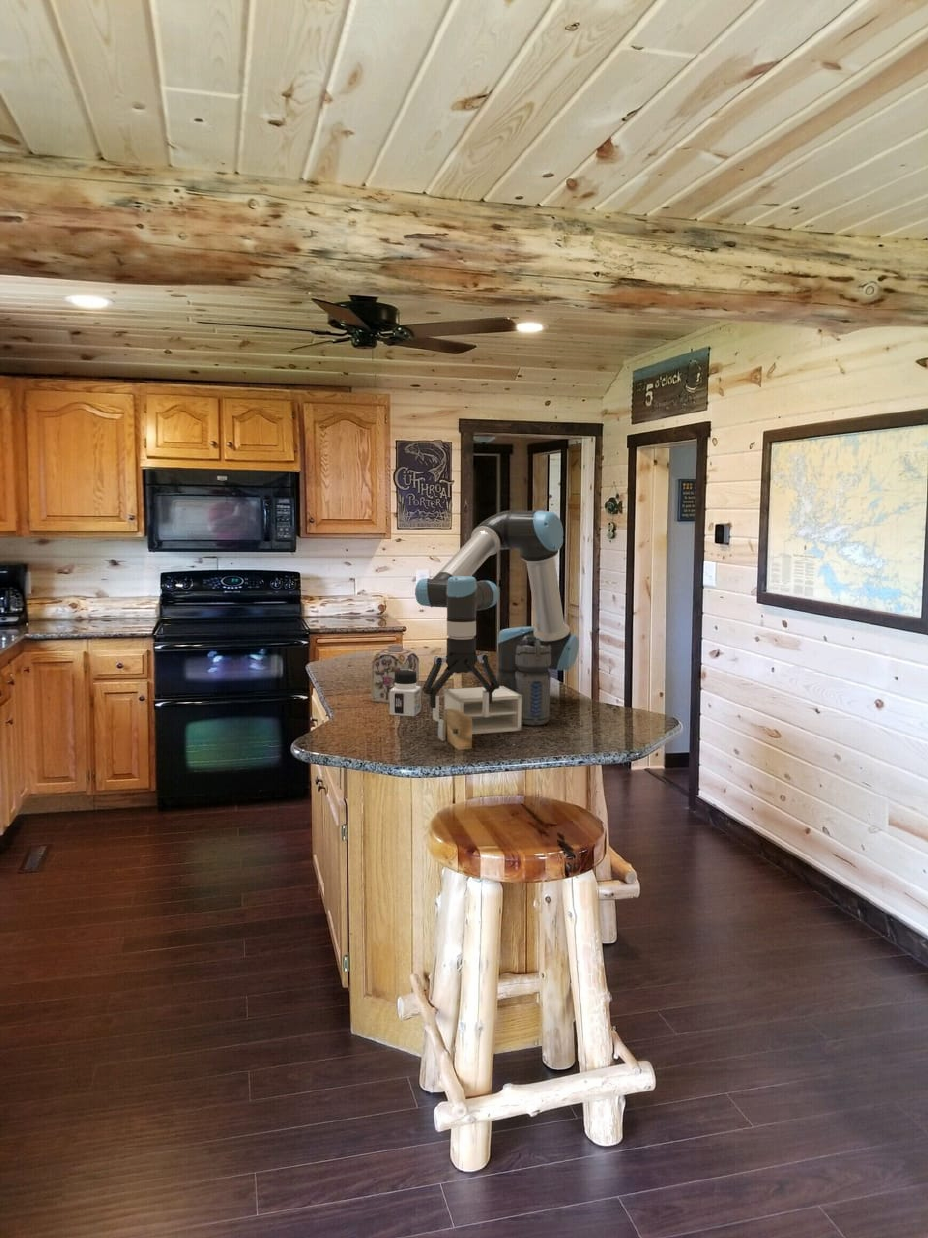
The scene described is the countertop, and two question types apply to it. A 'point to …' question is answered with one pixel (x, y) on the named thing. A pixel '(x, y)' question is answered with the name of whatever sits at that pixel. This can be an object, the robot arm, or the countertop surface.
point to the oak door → (458, 729)
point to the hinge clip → (441, 729)
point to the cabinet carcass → (501, 710)
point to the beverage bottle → (533, 681)
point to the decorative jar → (391, 670)
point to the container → (405, 694)
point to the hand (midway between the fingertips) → (461, 718)
